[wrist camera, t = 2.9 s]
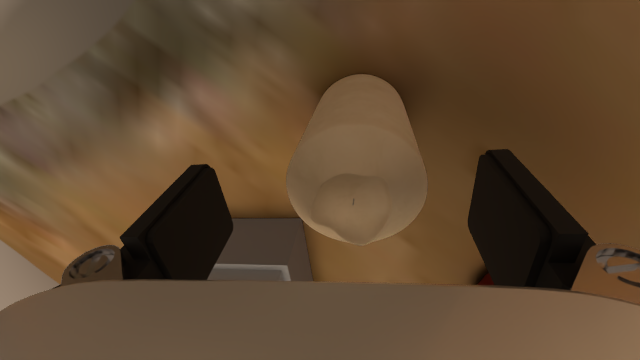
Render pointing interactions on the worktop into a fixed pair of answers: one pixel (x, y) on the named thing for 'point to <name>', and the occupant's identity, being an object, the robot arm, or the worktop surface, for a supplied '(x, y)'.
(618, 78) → the worktop surface
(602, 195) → the worktop surface
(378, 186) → the candle
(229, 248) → the pedestal
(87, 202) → the worktop surface
